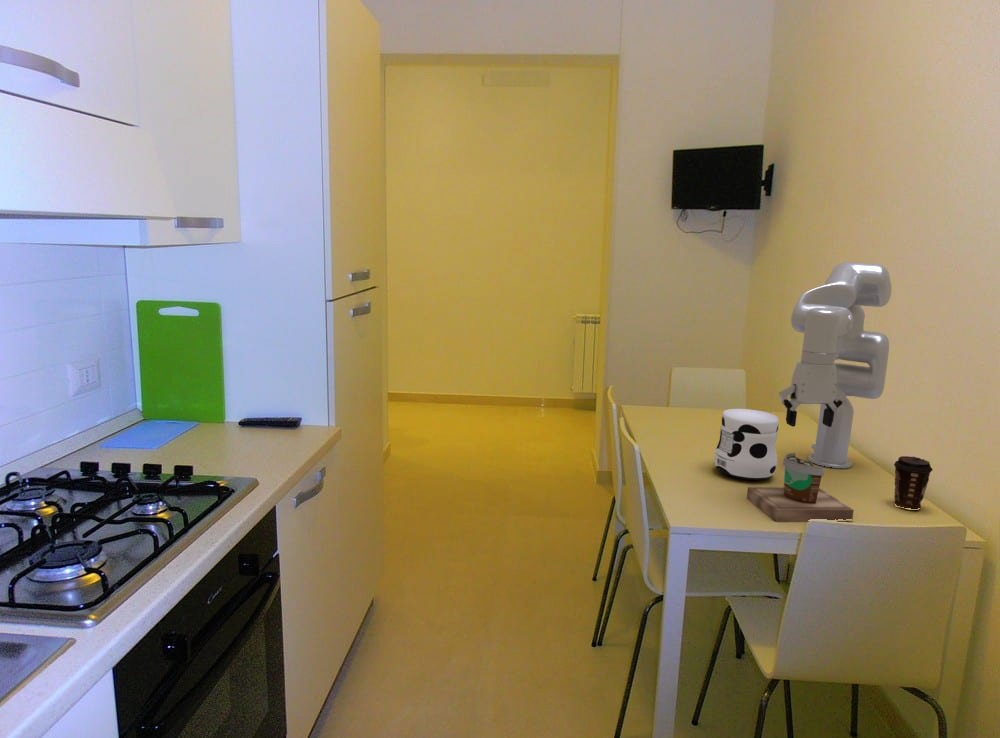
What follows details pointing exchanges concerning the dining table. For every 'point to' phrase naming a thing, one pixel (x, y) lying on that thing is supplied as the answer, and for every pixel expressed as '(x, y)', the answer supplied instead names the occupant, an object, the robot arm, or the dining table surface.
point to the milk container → (747, 444)
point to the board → (797, 506)
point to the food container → (801, 479)
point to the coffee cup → (911, 481)
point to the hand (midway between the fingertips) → (808, 425)
